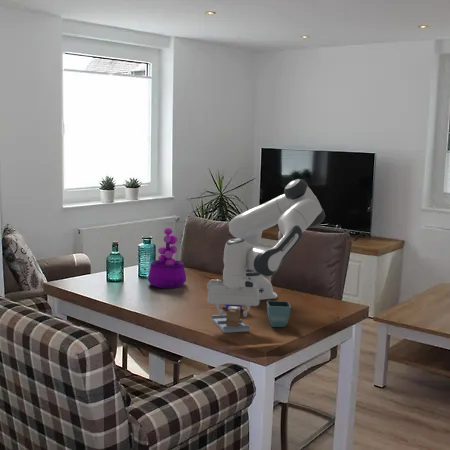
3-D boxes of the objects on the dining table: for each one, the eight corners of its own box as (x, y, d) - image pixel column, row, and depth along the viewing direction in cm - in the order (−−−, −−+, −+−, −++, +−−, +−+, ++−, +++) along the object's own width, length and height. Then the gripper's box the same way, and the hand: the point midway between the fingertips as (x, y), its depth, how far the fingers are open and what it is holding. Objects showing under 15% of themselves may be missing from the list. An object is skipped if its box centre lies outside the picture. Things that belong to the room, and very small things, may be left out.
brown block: (228, 319, 246) (229, 305, 245) (239, 320, 245) (240, 306, 244) (226, 326, 237) (226, 311, 236) (237, 326, 236) (238, 312, 236)
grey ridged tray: (234, 319, 255) (234, 313, 254) (248, 331, 239) (249, 325, 238) (211, 320, 252) (211, 315, 251) (224, 332, 236) (224, 327, 235)
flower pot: (287, 322, 252) (288, 301, 251) (290, 329, 243) (291, 306, 242) (265, 322, 252) (266, 300, 251) (267, 328, 243) (268, 306, 242)
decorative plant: (160, 281, 319) (162, 223, 315) (192, 286, 311) (194, 227, 307) (140, 288, 302) (141, 227, 298) (173, 293, 294) (174, 231, 290)
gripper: (206, 280, 237) (205, 316, 238) (260, 283, 235) (258, 319, 237) (208, 277, 243) (207, 311, 245) (260, 280, 241) (259, 314, 243)
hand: (232, 315), depth 241 cm, fingers open, 8 cm apart
